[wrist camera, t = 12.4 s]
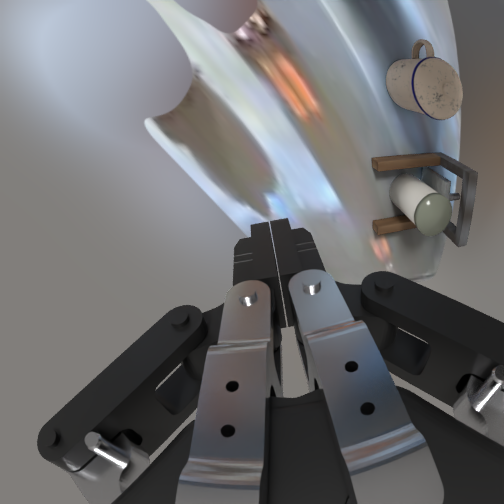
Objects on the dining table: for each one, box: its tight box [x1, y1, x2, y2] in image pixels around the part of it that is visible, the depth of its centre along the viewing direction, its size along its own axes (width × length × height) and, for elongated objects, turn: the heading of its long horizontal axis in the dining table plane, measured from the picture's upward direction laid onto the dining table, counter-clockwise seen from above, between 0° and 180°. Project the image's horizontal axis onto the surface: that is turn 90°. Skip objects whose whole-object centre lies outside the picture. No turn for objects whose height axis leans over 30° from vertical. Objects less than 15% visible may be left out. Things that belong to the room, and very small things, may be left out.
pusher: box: [421, 166, 460, 230], centre depth 40 cm, size 9×6×8 cm, turn 11°
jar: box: [389, 173, 452, 236], centre depth 40 cm, size 7×7×10 cm
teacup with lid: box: [386, 39, 463, 120], centre depth 28 cm, size 12×9×12 cm
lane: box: [372, 152, 478, 247], centre depth 40 cm, size 13×14×10 cm
